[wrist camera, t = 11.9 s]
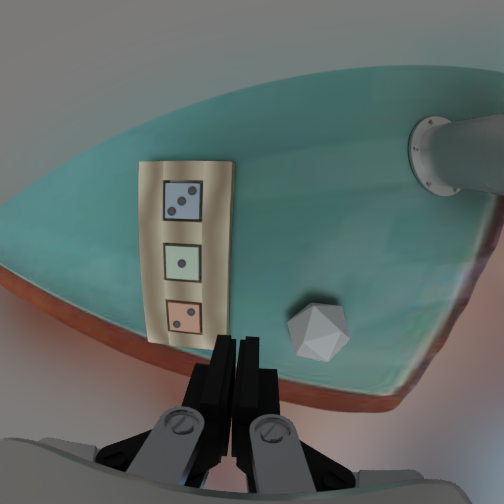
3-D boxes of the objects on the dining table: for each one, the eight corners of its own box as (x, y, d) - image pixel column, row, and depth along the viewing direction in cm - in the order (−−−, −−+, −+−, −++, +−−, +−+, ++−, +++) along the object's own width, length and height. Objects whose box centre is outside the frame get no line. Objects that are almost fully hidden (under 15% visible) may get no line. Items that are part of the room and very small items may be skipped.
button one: (203, 242, 39) (198, 248, 36) (202, 273, 40) (198, 281, 37) (172, 240, 39) (165, 246, 36) (172, 270, 40) (166, 278, 37)
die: (274, 315, 43) (287, 374, 37) (301, 284, 37) (321, 352, 31) (317, 316, 46) (332, 369, 40) (347, 287, 40) (369, 347, 34)
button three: (204, 183, 37) (199, 183, 33) (203, 215, 38) (198, 219, 35) (172, 182, 37) (165, 183, 34) (172, 214, 38) (164, 218, 35)
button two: (203, 296, 41) (198, 306, 38) (203, 322, 42) (199, 333, 39) (173, 293, 41) (167, 303, 38) (175, 320, 42) (169, 330, 39)
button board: (235, 163, 37) (232, 161, 33) (229, 336, 44) (226, 350, 40) (150, 162, 37) (139, 161, 33) (156, 329, 44) (148, 341, 40)
